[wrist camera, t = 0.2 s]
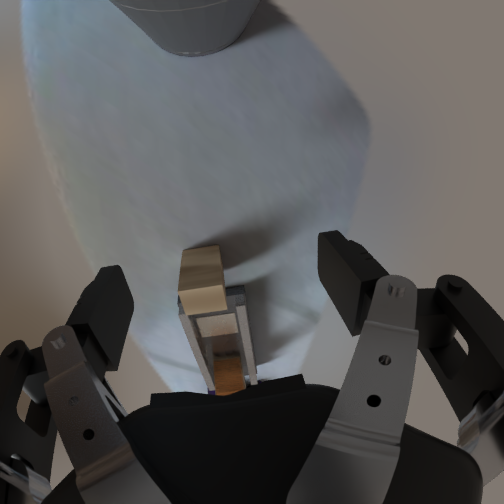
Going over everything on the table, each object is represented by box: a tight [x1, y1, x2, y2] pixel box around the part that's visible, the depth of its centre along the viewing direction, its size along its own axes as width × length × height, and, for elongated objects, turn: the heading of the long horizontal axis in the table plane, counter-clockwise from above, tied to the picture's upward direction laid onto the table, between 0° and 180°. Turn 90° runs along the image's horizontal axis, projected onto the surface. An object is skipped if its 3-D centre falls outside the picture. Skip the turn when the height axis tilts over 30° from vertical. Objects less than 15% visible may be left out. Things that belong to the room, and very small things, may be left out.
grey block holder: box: [177, 286, 258, 396], centre depth 34 cm, size 17×8×8 cm, turn 5°
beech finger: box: [178, 245, 227, 315], centre depth 28 cm, size 4×4×7 cm
